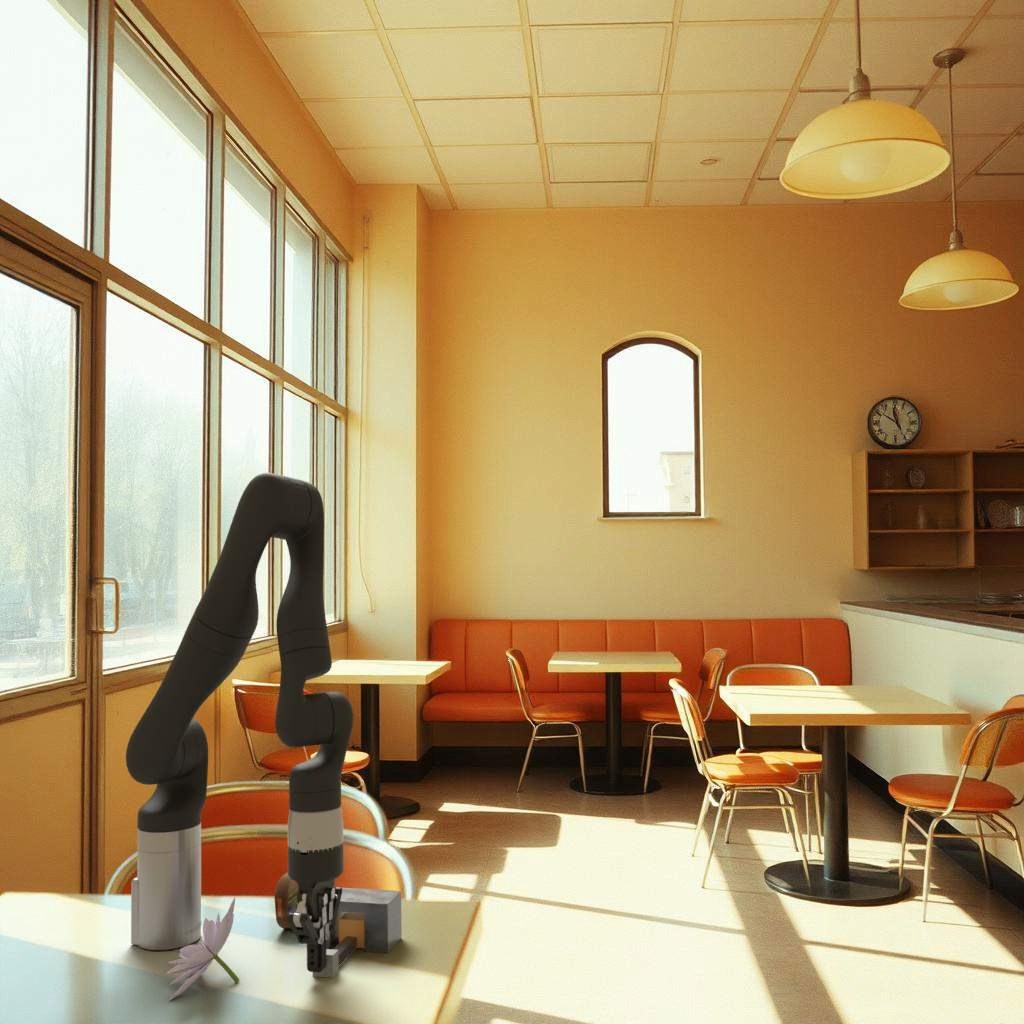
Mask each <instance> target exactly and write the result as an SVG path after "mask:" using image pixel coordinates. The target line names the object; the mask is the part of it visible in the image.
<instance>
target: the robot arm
mask: <svg viewBox="0 0 1024 1024" xmlns="http://www.w3.org/2000/svg"><path fill="white" fill-rule="evenodd" d="M244 488H245V489H244V490H243V492H242V494H241V496H240V499H239V501H238V503H237V507H236V509H235V512H234V515H233V517H232V521H231V524H230V526H229V529H228V533H227V535H226V539H225V540H224V544H223V546H222V549H221V552H220V554H219V557H218V560H217V562H216V565H215V567H214V568H213V572H212V573H211V576H210V579H209V581H208V583H207V584H206V587H205V590H204V592H203V594H202V596H201V598H200V600H199V602H198V604H197V606H196V608H195V610H194V612H193V614H192V616H191V618H190V621H189V623H188V625H187V627H186V630H185V631H184V634H183V636H182V639H181V642H180V643H179V646H178V648H177V650H176V652H175V655H174V656H173V659H172V661H171V662H170V664H169V666H168V669H167V670H166V672H165V675H164V677H163V679H162V681H161V683H160V685H159V687H158V689H157V691H156V692H155V695H154V696H153V698H152V699H151V701H150V703H149V704H148V706H147V707H146V709H145V711H144V712H143V714H142V716H141V717H140V719H139V721H138V723H137V724H136V726H135V728H134V729H133V731H132V733H131V735H130V737H129V739H128V743H127V746H126V751H125V762H126V763H125V764H126V769H127V771H128V773H129V775H130V777H131V778H132V779H133V780H134V781H136V782H137V783H139V784H142V785H147V786H149V785H150V786H151V785H156V787H155V789H154V791H153V793H152V794H151V795H150V798H149V799H147V801H145V802H144V804H142V806H141V807H140V808H139V809H138V811H137V825H136V826H137V840H136V841H137V846H136V847H137V865H136V866H137V872H136V873H137V875H136V877H134V878H132V880H131V882H130V883H131V885H130V886H131V889H130V890H131V894H130V895H131V896H130V899H131V901H130V902H131V904H130V909H131V910H130V914H131V915H130V916H131V917H130V919H131V921H130V924H131V925H130V926H131V928H130V944H131V945H136V946H138V947H139V948H141V949H144V950H151V951H165V950H166V951H168V950H173V949H174V950H175V949H179V948H183V947H185V946H188V945H192V944H193V943H195V942H197V941H198V940H199V939H201V936H202V811H203V809H204V807H205V804H206V799H207V795H208V794H207V793H208V774H209V743H208V737H207V735H206V732H205V730H204V728H203V727H202V726H203V725H201V724H200V722H198V720H196V719H194V717H195V715H196V714H197V712H198V711H199V709H200V708H201V706H202V705H203V704H204V703H205V701H206V700H207V699H208V698H209V697H210V696H211V695H212V694H213V693H214V692H215V691H216V690H217V689H218V688H219V687H220V686H221V685H222V684H223V682H224V681H225V680H226V679H227V678H229V676H230V675H231V674H232V672H233V671H234V670H235V669H236V668H237V667H238V664H239V663H240V662H241V660H242V658H243V657H244V655H245V653H246V651H247V648H248V646H249V644H250V642H251V640H252V638H253V635H254V634H255V631H256V630H257V626H258V623H259V611H260V610H259V600H258V599H259V598H258V593H257V582H256V581H257V580H256V578H257V577H256V576H257V570H258V567H259V564H260V561H261V559H262V556H263V553H264V550H265V549H266V547H267V546H268V543H269V542H270V539H272V538H274V539H280V540H285V542H286V545H287V549H288V555H289V562H290V563H289V564H290V566H289V576H288V580H287V583H286V587H285V589H284V592H283V595H282V597H281V600H280V603H279V605H278V609H277V613H276V614H277V615H276V622H275V623H276V626H275V627H276V637H277V645H278V654H279V660H280V682H279V691H278V698H277V703H276V704H277V705H276V711H275V716H274V718H275V719H274V726H275V732H276V735H277V737H278V738H279V740H280V741H281V742H282V744H284V745H285V746H286V747H289V748H291V749H292V748H295V749H296V748H304V747H313V746H319V748H318V750H317V752H316V753H315V755H314V756H313V757H312V758H310V759H308V760H306V761H304V762H301V763H298V764H296V765H294V766H293V767H292V768H291V769H290V772H289V776H288V777H289V779H288V794H289V795H288V796H289V797H288V801H289V802H288V803H289V805H288V806H289V811H288V818H287V819H288V820H287V872H288V876H289V878H290V879H292V880H294V881H296V882H297V883H298V892H297V905H298V907H297V910H296V912H295V913H289V915H288V922H289V924H290V926H291V928H292V929H291V931H292V932H293V935H294V936H295V937H294V938H295V939H296V941H297V943H298V944H302V945H303V944H304V945H306V969H307V971H308V972H310V973H313V972H321V971H322V970H323V969H324V968H326V940H328V938H329V931H333V929H334V925H335V921H336V917H337V912H338V908H339V904H340V900H341V896H342V888H343V887H341V886H335V882H336V881H335V879H337V878H339V877H341V875H343V874H344V869H345V866H344V864H345V863H344V859H345V858H344V854H345V853H344V851H345V850H344V819H343V818H344V816H343V811H342V785H341V784H342V774H343V773H342V772H343V768H344V764H345V759H346V754H347V750H348V746H349V743H350V740H351V736H352V731H353V727H354V711H353V706H352V703H351V702H350V700H349V698H348V697H347V696H346V695H345V694H343V693H342V692H339V691H328V692H327V691H325V692H318V693H315V692H314V693H307V694H306V693H304V690H305V689H304V687H305V684H306V682H307V681H310V680H312V679H317V678H319V677H322V676H324V675H326V674H328V673H329V672H330V671H331V669H332V663H333V661H332V654H331V646H330V639H329V633H328V632H329V631H328V627H327V620H326V611H325V600H324V570H325V567H324V565H325V563H324V562H325V511H324V508H325V507H324V501H323V497H322V495H321V492H320V491H319V489H318V488H317V487H316V486H315V485H313V484H312V483H310V482H308V481H305V480H302V479H298V478H295V477H290V476H288V475H282V474H278V473H273V472H262V473H259V474H257V475H256V476H254V477H253V478H252V479H251V480H249V483H248V484H247V485H246V487H244Z"/></svg>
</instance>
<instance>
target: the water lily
mask: <svg viewBox="0 0 1024 1024" xmlns="http://www.w3.org/2000/svg"><path fill="white" fill-rule="evenodd" d="M235 905H236V897H234V898H233V899H232V901H231V903H230V905H229V908H228V911H226V913H225V915H224V916H223V918H222V919H221V917H220V912H219V911H218V913H217V916H216V921H214V920H213V919H211V920H209V919H208V918H207V917H205V918H204V920H203V924H202V935H203V940H202V939H201V942H202V943H199V944H198V943H196V944H189V945H186V946H183V947H181V948H180V949H179V954H178V957H180V959H175V960H171V961H168V962H167V964H175V966H174V967H172V968H170V970H168V971H167V972H166V974H178V973H182V974H181V975H179V976H178V977H177V978H176V979H174V980H173V981H171V982H170V983H169V986H170V985H174V984H176V983H179V982H181V981H183V980H185V979H187V978H188V979H187V980H186V981H185V982H184V983H182V985H181V986H180V987H179V989H177V990H176V991H175V993H174V994H173V995H172V996H171V997H170V999H169V1000H168V1002H170V1001H171V1000H173V999H175V998H176V997H178V996H179V995H181V994H182V993H184V991H185V990H187V989H188V988H189V987H191V985H192V984H193V983H195V982H197V980H198V979H199V978H200V977H201V976H202V975H203V973H204V972H206V970H207V969H208V968H209V967H210V965H211V964H212V962H213V961H214V960H215V961H216V962H217V963H218V964H219V965H220V967H222V968H223V969H224V971H225V972H226V973H227V974H228V975H229V977H230V978H231V979H232V980H233V982H234V983H235V984H237V983H238V982H240V978H239V977H238V976H237V975H236V973H235V972H234V971H233V970H232V968H230V966H229V965H228V964H227V963H226V962H225V961H224V960H223V959H221V958H220V956H218V955H219V953H220V952H221V950H222V949H223V947H224V946H225V944H226V942H227V940H228V938H229V936H230V934H231V930H232V927H233V923H234V917H235V913H234V909H235ZM183 972H184V973H183Z"/></svg>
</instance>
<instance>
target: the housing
mask: <svg viewBox="0 0 1024 1024" xmlns="http://www.w3.org/2000/svg"><path fill="white" fill-rule="evenodd" d="M341 888H342V896H341V900H340V904H339V908H338V912H337V917H336V921H335V925H334V929H333V931H329V938H328V940H326V949H330V948H331V949H333V947H334V946H335V945H336V944H337V943H339V919H340V918H341V917H342V916H343V915H344V914H345V913H346V912H354V913H365V948H364V949H365V950H364V951H365V953H367V952H368V953H377V954H378V953H380V954H381V953H382V954H389V953H390V952H391V950H393V948H394V947H395V946H396V945H397V944H398V943H399V942H400V940H401V939H402V891H401V890H391V889H389V890H388V889H387V890H386V889H372V888H371V889H369V888H352V887H341ZM332 946H333V947H332Z"/></svg>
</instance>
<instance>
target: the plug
mask: <svg viewBox="0 0 1024 1024" xmlns="http://www.w3.org/2000/svg"><path fill="white" fill-rule="evenodd" d="M356 949H365V913H354V912H346V913H345V914H344V915H343V916H342V917H341V918H340V919H339V941H338V944H337V945H336V946H335V947H334V948H331V949H326V968H324V969H323V970H322V971H321V972H312V977H317V978H318V977H320V978H332V977H333V978H334V977H335V976H336V975H337V974H339V972H340V971H339V967H340V966H341V965H342V964H343V963H344V962H345V961H346V960H347V959H348V958H349V957H350V956H351V955H352V954H353V952H354V951H356ZM349 955H350V956H349ZM348 956H349V957H348ZM346 958H347V959H346ZM345 959H346V960H345ZM344 960H345V961H344ZM343 961H344V962H343ZM342 962H343V963H342ZM341 963H342V964H341ZM340 964H341V965H340ZM339 965H340V966H339Z"/></svg>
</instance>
